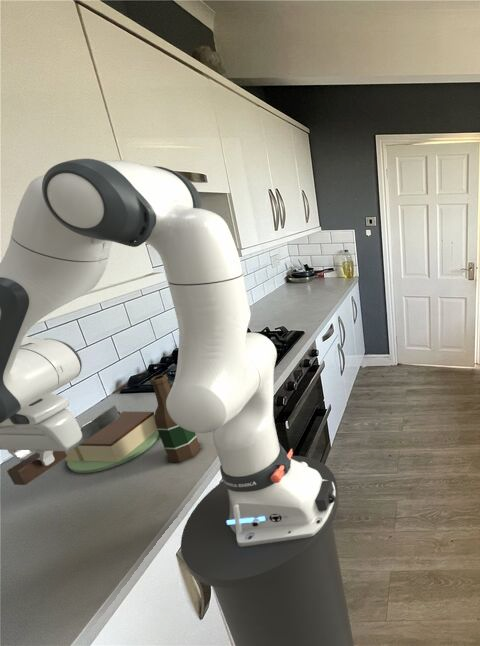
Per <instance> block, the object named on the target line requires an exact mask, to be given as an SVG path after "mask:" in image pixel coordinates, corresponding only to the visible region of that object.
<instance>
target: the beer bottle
mask: <svg viewBox="0 0 480 646" xmlns="http://www.w3.org/2000/svg"><path fill="white" fill-rule="evenodd" d="M168 380H169V377H168V375H166V374H159V375H155V376H153V377H151V378H150V385H152V387H153V391H154V395H155V399H156V403H157V407H156V410H155V411H154V415H155V422H156V426H157V430H158V432H159V437H160V440H161V443H162V445H163V448H164V450H165V453H166V456H167V458H168V460H169V462H175V463H181V462H184V461H186V460H188V459H191V458H193V457H194V456H195V455H196V454H197V453H199V451H201V446H200V443H199V439H198V437H197V433H196V432H191V431H188V430H185V429H183V428H182V427H180V426H178V425H177V424H176V423H175V422H174V421H173V420H172V419H171V417H170V415H169V413H168V411H167V407H166V400H167V397H168V395H169V393H170V391H171V388H170V386H169V384H168Z"/></svg>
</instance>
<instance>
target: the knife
mask: <svg viewBox="0 0 480 646" xmlns="http://www.w3.org/2000/svg"><path fill="white" fill-rule="evenodd" d="M118 411H119V410H118V409H117V407H116V405H112V406H111V407H109V408H108V409H106V410H104V411H103V412H102V413H100V414H98V415H97V416H95V417H94V418H92V419H90V420H88V422H86V423H84V424H83V425H81V426H79V427H80V430H81V432H82V438H81V440H80V441H79V442H78V443H77V444H75V445H74V446H73V447H71V448H69V449H68V450H66V451H53V453H52V454H53V456H54V458H55V460H54V462H52V463H51V464H49V465H47V466H46V465H39V463H38V462H37V460H36V459H38V458H39V457H40V453H37V452H36V451H35V452H33V453H34V454H33V455H31V456H30V457H28V458H26V459H25V460H23V461H22V462H20V461H19V463H17V464H16V465H14V466H12V467H11V468H9V469H8V470H6V473H7V474H8V476H9V477H10V480H11V481H12V483H13V484H14V485H15V486H26V485H28V484H30V483H31V482H32V481H34V480H35V479H37V478H38V477H40V476H41V475H43V474H44V473H45V472H47V471H48V470H50V469H51V468H53V467H54V466H56V465H57V464H58V463H59V462H61V461H62V460H64V459H65V457H67V455H66V454H67V453H68V452H70V451H71V450H73V449H74V448H75V447H77V446H78V445H80V444H81V443H83V442H84V441H86V440H87V439H89V438H90V437H91V436H93V435H94V434H96V433H97V432H99V431H100V430H102V429H103V428H105V427H106V426H108V425H109V424H110V423H112V422H113V421H115V420H116V419H118V418H119V417H120V416H119V414H118Z"/></svg>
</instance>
